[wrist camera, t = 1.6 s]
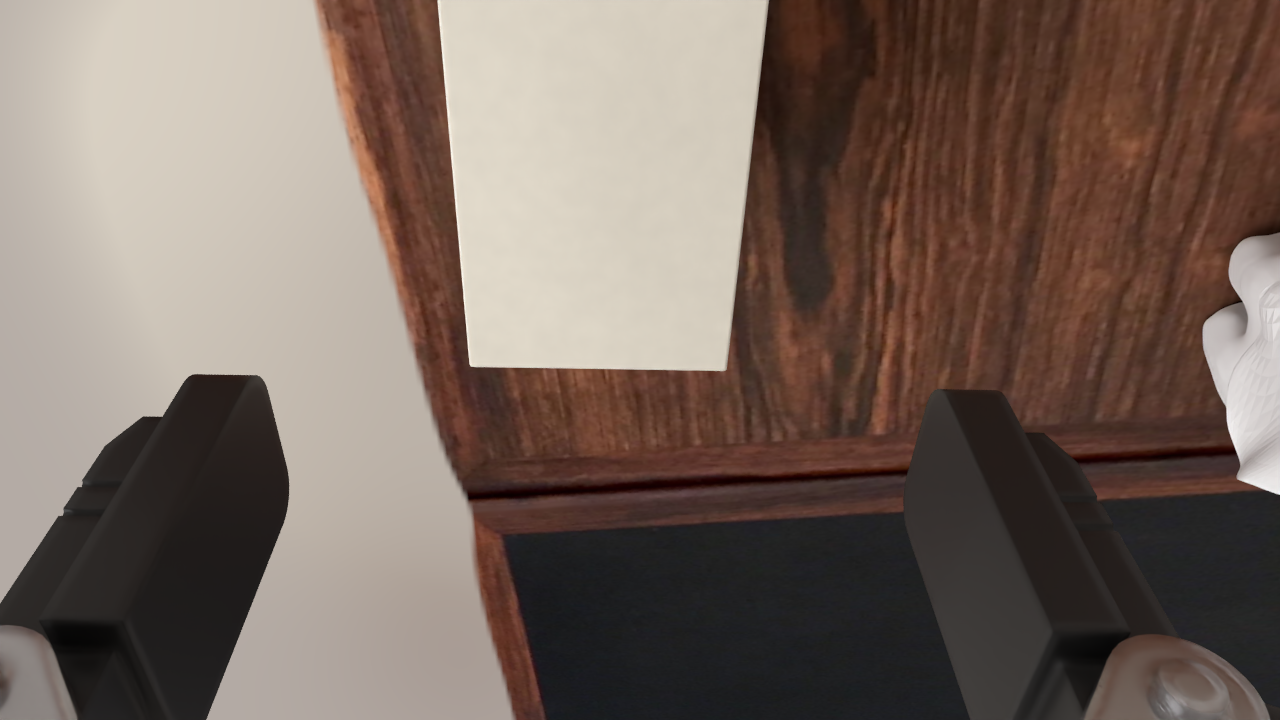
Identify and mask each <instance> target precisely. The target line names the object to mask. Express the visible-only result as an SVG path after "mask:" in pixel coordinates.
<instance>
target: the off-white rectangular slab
mask: <svg viewBox="0 0 1280 720" xmlns="http://www.w3.org/2000/svg"><path fill="white" fill-rule="evenodd" d="M768 4H769V0H438V11H439V23H440V34H441V46H442V57H443V68H444V80H445V91H446V102H447V114H448V125H449V136H450V148H451V159H452V170H453V182H454V193H455V204H456V216H457V227H458V238H459V250H460V261H461V273H462V284H463V295H464V307H465V318H466V329H467V341H468V352H469V363H470V366H472V367H516V368H577V369H639V370H701V371H725V370H726V369H727V362H728V353H729V344H730V336H731V327H732V318H733V309H734V301H735V292H736V283H737V275H738V266H739V257H740V248H741V240H742V231H743V222H744V213H745V205H746V196H747V187H748V179H749V170H750V161H751V152H752V144H753V135H754V126H755V117H756V109H757V100H758V91H759V83H760V74H761V65H762V56H763V48H764V39H765V30H766V21H767V13H768Z"/></svg>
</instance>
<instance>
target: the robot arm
mask: <svg viewBox="0 0 1280 720" xmlns="http://www.w3.org/2000/svg"><path fill="white" fill-rule="evenodd" d="M82 481H83V485H82V487H78V488H77V489H76V491H75V492H74V494H73V495H72V497H71V498H70V500H69V501H68V503H67V504H66V506H65V507H64V514H63V516H58V518H57V519H56V521H55V522H54V524H53V525H52V527H51V528H50V530H49V531H48V533H47V534H46V536H45V537H44V539H43V540H42V542H41V543H40V545H39V546H38V548H37V549H36V551H35V552H34V554H33V555H32V557H31V558H30V560H29V561H28V563H27V564H26V566H25V567H24V569H23V570H22V572H21V573H20V575H19V576H18V578H17V579H16V581H15V582H14V584H13V585H12V587H11V588H10V590H9V591H8V593H7V594H6V596H5V597H4V599H3V600H2V602H1V603H0V720H206V719H207V716H208V714H209V711H210V708H211V706H212V703H213V701H214V698H215V696H216V693H217V691H218V688H219V686H220V683H221V681H222V678H223V676H224V673H225V670H226V668H227V665H228V663H229V660H230V658H231V655H232V653H233V650H234V647H235V645H236V643H237V640H238V638H239V635H240V632H241V630H242V627H243V625H244V622H245V620H246V617H247V615H248V612H249V610H250V607H251V605H252V602H253V599H254V597H255V594H256V591H257V589H258V587H259V584H260V582H261V579H262V577H263V574H264V572H265V569H266V566H267V564H268V561H269V559H270V556H271V554H272V551H273V548H274V546H275V543H276V541H277V539H278V536H279V533H280V530H281V528H282V526H283V523H284V520H285V517H286V512H287V507H288V500H289V477H288V471H287V466H286V462H285V458H284V454H283V450H282V446H281V442H280V438H279V434H278V430H277V426H276V422H275V418H274V414H273V410H272V406H271V402H270V398H269V394H268V390H267V387H266V385H265V382H264V381H263V379H262V378H261V377H260V376H257V375H202V374H195V375H191V376H189V377H188V378H187V379H186V380H185V381H184V383H183V385H182V386H181V388H180V389H179V391H178V392H177V394H176V396H175V398H174V399H173V401H172V402H171V404H170V406H169V407H168V409H167V410H166V412H165V414H164V415H163V417H142V418H141V419H139V420H138V421H137V422H135V423H134V424H133V425H132V426H130V427H129V428H128V429H126V430H125V431H124V432H123V433H121V434H120V435H119V436H117V437H116V438H115V439H113V440H112V441H111V442H110V443H108V444H107V445H106V446H105V447H104V449H103V450H102V451H101V453H100V454H99V456H98V457H97V459H96V461H95V462H94V463H93V465H92V467H91V468H90V469H89V471H88V473H87V474H86V476H85V477H84V478H83V480H82ZM904 518H905V524H906V529H907V532H908V535H909V538H910V541H911V544H912V547H913V550H914V553H915V556H916V559H917V562H918V565H919V568H920V571H921V574H922V577H923V580H924V583H925V586H926V589H927V592H928V595H929V598H930V601H931V604H932V607H933V610H934V613H935V616H936V619H937V622H938V625H939V628H940V630H941V633H942V636H943V639H944V642H945V645H946V648H947V651H948V654H949V657H950V660H951V663H952V666H953V669H954V672H955V675H956V678H957V681H958V684H959V687H960V690H961V693H962V696H963V699H964V702H965V705H966V708H967V711H968V714H969V717H970V720H1280V708H1278V707H1275V706H1271V705H1268V704H1265V703H1264V702H1263V701H1262V699H1261V697H1260V695H1259V694H1258V692H1257V691H1256V690H1255V689H1254V687H1253V686H1252V685H1251V683H1250V682H1249V681H1248V680H1247V679H1246V678H1245V677H1244V676H1243V675H1242V674H1241V673H1240V672H1239V671H1238V670H1236V669H1235V668H1234V667H1233V666H1232V665H1230V664H1229V663H1228V662H1226V661H1225V660H1223V659H1222V658H1220V657H1219V656H1217V655H1216V654H1214V653H1213V652H1211V651H1209V650H1207V649H1205V648H1203V647H1201V646H1199V645H1196V644H1194V643H1192V642H1189V641H1186V640H1183V639H1180V637H1179V636H1178V634H1177V633H1176V631H1175V629H1174V628H1173V626H1172V624H1171V622H1170V621H1169V619H1168V617H1167V615H1166V614H1165V612H1164V610H1163V609H1162V607H1161V605H1160V603H1159V602H1158V600H1157V598H1156V597H1155V595H1154V593H1153V591H1152V590H1151V588H1150V586H1149V585H1148V583H1147V581H1146V579H1145V578H1144V576H1143V574H1142V573H1141V571H1140V569H1139V567H1138V566H1137V564H1136V562H1135V561H1134V559H1133V557H1132V555H1131V554H1130V552H1129V550H1128V548H1127V547H1126V545H1125V543H1124V542H1123V540H1122V538H1121V536H1120V535H1119V533H1118V531H1113V523H1112V521H1111V519H1110V518H1109V516H1108V514H1107V512H1106V511H1105V509H1104V507H1103V506H1102V504H1101V503H1097V495H1096V494H1095V492H1094V490H1093V488H1092V487H1091V485H1090V483H1089V481H1088V480H1087V478H1086V476H1085V475H1084V473H1083V471H1082V469H1081V468H1080V466H1079V464H1078V463H1077V462H1076V461H1075V460H1074V459H1073V458H1072V457H1071V456H1069V455H1068V454H1067V453H1066V452H1065V451H1064V450H1062V449H1061V448H1060V447H1059V446H1058V445H1057V444H1056V443H1054V442H1053V441H1052V440H1051V439H1050V438H1049V437H1047V436H1046V435H1045V434H1044V433H1025V432H1024V430H1023V429H1022V427H1021V425H1020V423H1019V421H1018V419H1017V417H1016V416H1015V414H1014V412H1013V410H1012V408H1011V406H1010V404H1009V402H1008V401H1007V399H1006V397H1005V396H1004V395H1003V394H1002V393H1001V392H1000V391H997V390H950V389H937V390H935V391H934V392H933V393H932V394H931V395H930V397H929V400H928V402H927V405H926V409H925V413H924V416H923V420H922V424H921V427H920V431H919V434H918V438H917V442H916V445H915V449H914V452H913V456H912V460H911V463H910V467H909V470H908V474H907V478H906V482H905V488H904Z"/></svg>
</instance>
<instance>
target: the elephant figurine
mask: <svg viewBox="0 0 1280 720" xmlns="http://www.w3.org/2000/svg"><path fill="white" fill-rule="evenodd" d="M1229 278H1230V282H1231V284H1232V286H1233V288H1234V289H1235V291H1236V292H1237V294H1238V295H1239V297H1240V298H1241V300H1242V301H1243V302H1240V303H1237V304H1233V305H1230V306H1227V307H1225V308H1223V309H1221V310H1219V311H1218V312H1216V313H1215V314H1214V315H1212V316H1211V317H1210V318H1208V319H1207V320H1206V322H1205V323H1204V326H1203V349H1204V353H1205V356H1206V359H1207V362H1208V365H1209V368H1210V370H1211V373H1212V377H1213V380H1214V383H1215V386H1216V389H1217V391H1218V393H1219V395H1220V397H1221V399H1222V401H1223V402H1224V404H1225V405H1226V407H1227V424H1228V429H1229V432H1230V436H1231V438H1232V441H1233V444H1234V446H1235V449H1236V452H1237V454H1238V457H1239V460H1240V470H1239V472H1238V474H1237V479H1238V480H1240V481H1243V482H1246V483H1249V484H1252V485H1254V486H1257V487H1260V488H1262V489H1265V490H1267V491H1270V492H1273V493H1276V494H1279V495H1280V233H1276V234H1272V235H1265V236H1253V237H1249V238H1246V239H1244V240H1242V241H1241V242H1240V243H1239V244H1238V245H1237V247H1236V248H1235V250H1234V251H1233V253H1232V255H1231V258H1230V264H1229Z"/></svg>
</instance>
